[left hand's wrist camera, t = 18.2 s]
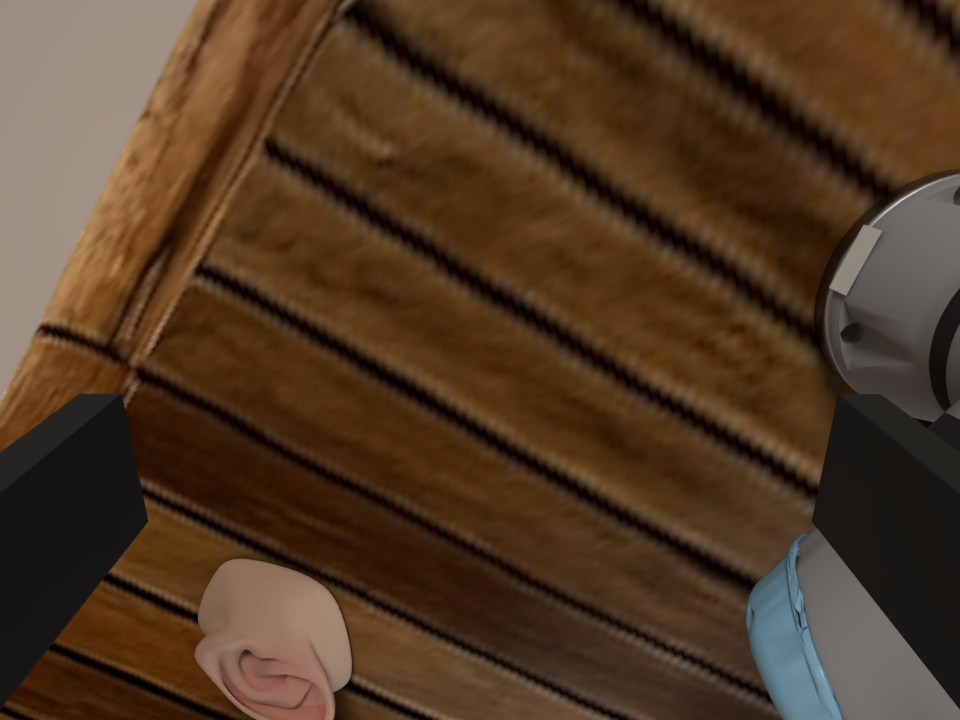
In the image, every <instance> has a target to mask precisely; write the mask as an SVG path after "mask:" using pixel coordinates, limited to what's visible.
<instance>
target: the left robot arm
mask: <svg viewBox="0 0 960 720" xmlns="http://www.w3.org/2000/svg"><path fill="white" fill-rule="evenodd" d="M816 328H817V335H818V339H819V343H820V346H821V349H822V351H823V354H824V356H825V358H826V360H827V362H828V364H829V365H830V367H831V368H832V369H833V371H834V372H835V374H836V375H837V376H838V377H839V378H840V379H841V380H842V381H843V382H844V383H845V384H847V385H848V386H849V387H850V388H851V389H853V390H854V391H855V392H857V393H858V394H838V398H837V403H836V408H835V413H834V417H833V422H832V427H831V432H830V437H829V441H828V446H827V451H826V456H825V461H824V465H823V470H822V475H821V480H820V484H819V489H818V494H817V499H816V504H815V508H814V513H813V518H812V522H813V524H814V525H815V526H816V527H815V528H814V529H813V530H812V531H810V532H809V533H808V534H804V533H803V534H801V535H800V536H798V537H797V538H796V539H795V540H794V541H793V542H792V544H791V546H790V550H789V551H788V552H787V553H786V554H785V556H784V557H783V558H782V559H781V560H780V561H779V562H778V563H777V564H776V565H775V566H774V567H773V568H772V569H771V570H770V571H769V572H768V573H767V574H766V575H765V576H764V577H763V578H762V579H761V580H760V581H759V582H758V583H757V584H756V585H755V587H754V588H753V590H752V592H751V593H750V596H749V599H748V602H747V607H746V626H747V630H748V634H749V644H750V648H751V651H752V654H753V657H754V660H755V663H756V666H757V668H758V671H759V673H760V676H761V678H762V680H763V683H764V685H765V687H766V689H767V691H768V693H769V695H770V697H771V699H772V701H773V703H774V705H775V707H776V708H777V710H778V712H779V714H780V716H781V717H782V719H783V720H960V169H955V170H948V171H944V172H939V173H935V174H932V175H929V176H925V177H923V178H920V179H918V180H915V181H913V182H911V183H909V184H907V185H905V186H903V187H901V188H899V189H897V190H895V191H894V192H892V193H891V194H889V195H887V196H886V197H884V198H883V199H882V200H880V201H879V202H878V203H876V204H875V205H874V206H873V207H872V208H870V209H869V210H868V211H867V212H866V213H865V214H864V215H863V216H862V217H861V218H860V219H859V220H858V221H857V222H856V223H855V224H854V225H853V226H852V227H851V229H850V230H849V231H848V232H847V233H846V235H845V236H844V237H843V239H842V240H841V242H840V243H839V244H838V246H837V248H836V249H835V251H834V253H833V255H832V256H831V258H830V260H829V263H828V265H827V267H826V269H825V272H824V274H823V277H822V280H821V284H820V287H819V291H818V297H817V303H816ZM914 418H917V419H922V420H926V421H931V422H933V423H932V424H931V425H930V426H929V427H928V428H926V427H924V426H923V425H922V424H920V423H919V422H918V421H916V420H915V419H914ZM147 522H148V518H147V513H146V508H145V504H144V499H143V494H142V489H141V484H140V480H139V475H138V470H137V465H136V461H135V456H134V451H133V446H132V441H131V437H130V432H129V427H128V422H127V417H126V413H125V408H124V403H123V398H122V394H79V395H78V396H76V397H75V398H74V399H72V400H71V401H69V402H68V403H67V404H65V405H64V406H63V407H61V408H60V409H59V410H57V411H56V412H55V413H53V414H52V415H50V416H49V417H48V418H46V419H45V420H44V421H42V422H41V423H40V424H38V425H37V426H36V427H34V428H33V429H31V430H30V431H29V432H27V433H26V434H25V435H23V436H22V437H21V438H19V439H18V440H17V441H15V442H14V443H12V444H11V445H10V446H8V447H7V448H6V449H4V450H3V451H2V452H0V709H1V708H2V707H3V706H4V704H5V703H6V702H7V701H8V699H9V698H10V697H11V695H12V694H13V693H14V692H15V690H16V689H17V688H18V687H19V685H20V684H21V683H22V681H23V680H24V679H25V678H26V676H27V675H28V674H29V673H30V671H31V670H32V669H33V667H34V666H35V665H36V664H37V662H38V661H39V660H40V659H41V657H42V656H43V655H44V653H45V652H46V651H47V650H48V648H49V647H50V646H51V645H52V643H53V642H54V641H55V639H56V638H57V637H58V636H59V634H60V633H61V632H62V631H63V629H64V628H65V627H66V625H67V624H68V623H69V622H70V620H71V619H72V618H73V617H74V615H75V614H76V613H77V611H78V610H79V609H80V608H81V606H82V605H83V604H84V603H85V601H86V600H87V599H88V597H89V596H90V595H91V594H92V592H93V591H94V590H95V589H96V587H97V586H98V585H99V583H100V582H101V581H102V580H103V578H104V577H105V576H106V575H107V573H108V572H109V571H110V569H111V568H112V567H113V566H114V564H115V563H116V562H117V561H118V559H119V558H120V557H121V555H122V554H123V553H124V552H125V550H126V549H127V548H128V547H129V545H130V544H131V543H132V541H133V540H134V539H135V538H136V536H137V535H138V534H139V533H140V531H141V530H142V529H143V527H144V526H145V525H146V524H147Z"/></svg>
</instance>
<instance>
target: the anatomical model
mask: <svg viewBox="0 0 960 720" xmlns="http://www.w3.org/2000/svg"><path fill="white" fill-rule="evenodd" d="M198 622H199V625H200V628H201V630H202V631H203V633H204V634H205V637H204V638H203V639H202V640H201V642H200V643H199V644H198V646H197V648H196V650H195V658H196V661H197V663H198V664H199V665H200V667H201V668H202V669H203V670H204V671H205V673H206V674H207V675H208V676H209V677H210V678H211V679H212V681H213V682H214V683H215V684H216V685H217V686H218V688H219V689H220V690H221V691H222V692H223V693H224V694H225V695H226V697H227V698H228V699H229V700H230V701H231V702H232V703H233V704H234V705H236V706H237V707H238V708H239V709H240V710H242V711H243V712H244V713H246V714H247V715H249V716H251V717H252V718H254V719H256V720H333V719H334V715H335V700H334V695H333V692H335V691H337V690H339V689H341V688H342V687H343V686H345V685H346V684H347V682H348V681H349V679H350V677H351V672H352V658H351V650H350V644H349V639H348V635H347V631H346V627H345V623H344V620H343V617H342V614H341V612H340V609H339V607H338V605H337V603H336V601H335V599H334V598H333V596H332V595H331V593H330V592H329V591H328V590H327V589H326V588H325V587H324V586H323V585H321V584H320V583H319V582H317V581H315V580H314V579H312V578H310V577H308V576H306V575H304V574H302V573H299V572H297V571H294V570H291V569H289V568H285V567H282V566H278V565H275V564H270V563H266V562H262V561H256V560H250V559H233V560H230V561H227V562H225V563H224V564H222V565H221V566H220V567H219V568H218V570H217V571H216V573H215V574H214V575H213V577H212V579H211V581H210V583H209V585H208V587H207V589H206V591H205V593H204V595H203V598H202V601H201V605H200V608H199V613H198Z"/></svg>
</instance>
